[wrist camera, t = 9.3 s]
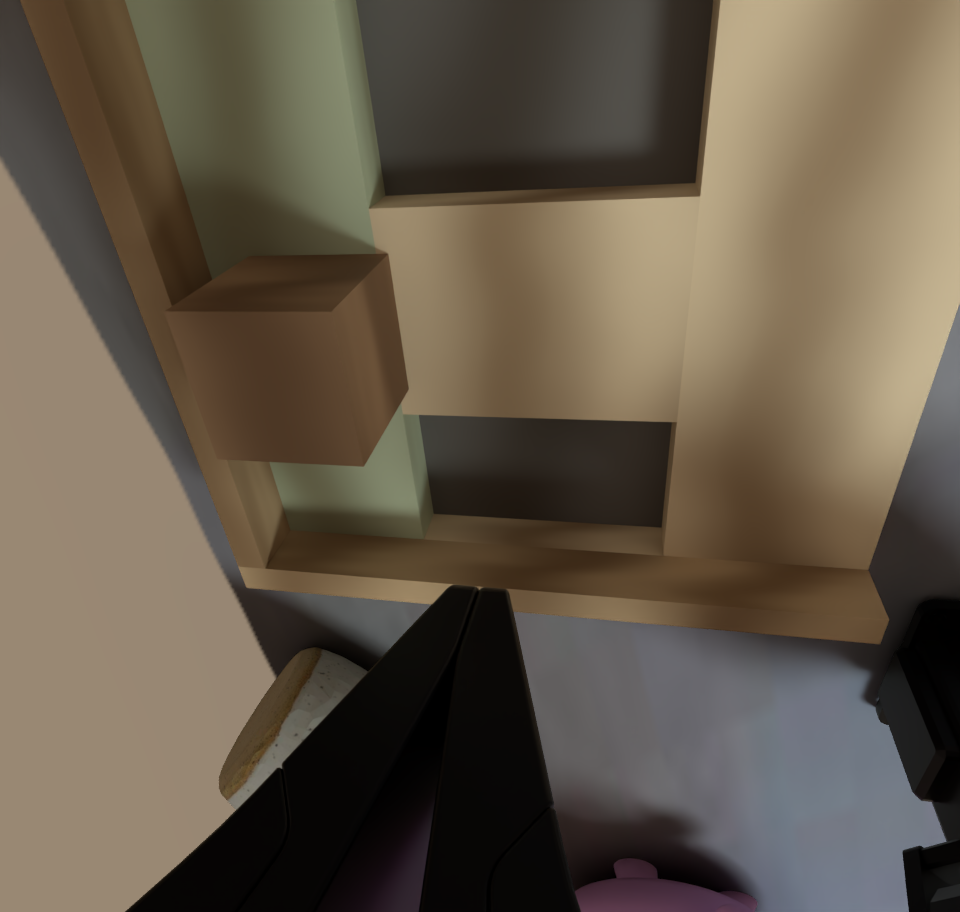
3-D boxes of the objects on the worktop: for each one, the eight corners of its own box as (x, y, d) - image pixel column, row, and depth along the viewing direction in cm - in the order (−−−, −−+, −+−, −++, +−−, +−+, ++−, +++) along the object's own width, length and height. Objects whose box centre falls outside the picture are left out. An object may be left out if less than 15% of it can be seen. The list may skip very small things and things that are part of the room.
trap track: (1068, -185, 12) (1230, -257, 9) (843, 550, 22) (879, 644, 19) (121, -58, 16) (-9, -75, 13) (294, 515, 26) (246, 587, 23)
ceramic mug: (323, 607, 29) (237, 773, 23) (476, 694, 30) (434, 872, 24) (245, 704, 35) (161, 856, 29) (376, 772, 36) (322, 931, 30)
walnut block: (388, 253, 17) (331, 311, 14) (408, 389, 19) (363, 467, 16) (248, 256, 18) (164, 311, 15) (284, 385, 20) (217, 459, 17)
